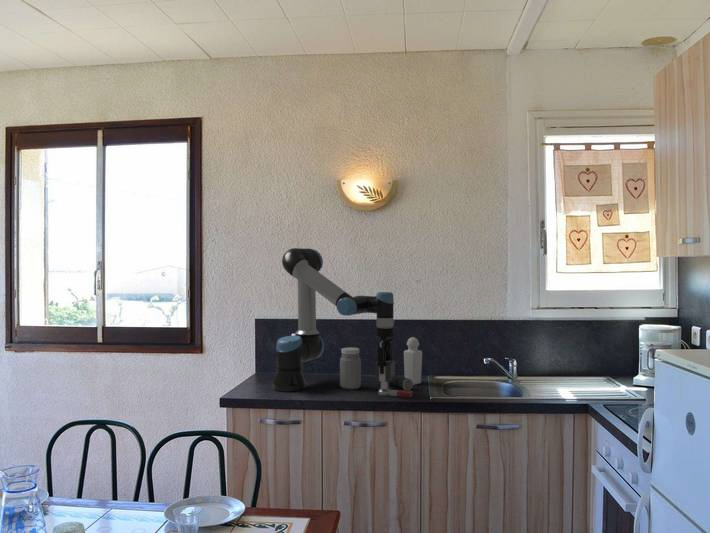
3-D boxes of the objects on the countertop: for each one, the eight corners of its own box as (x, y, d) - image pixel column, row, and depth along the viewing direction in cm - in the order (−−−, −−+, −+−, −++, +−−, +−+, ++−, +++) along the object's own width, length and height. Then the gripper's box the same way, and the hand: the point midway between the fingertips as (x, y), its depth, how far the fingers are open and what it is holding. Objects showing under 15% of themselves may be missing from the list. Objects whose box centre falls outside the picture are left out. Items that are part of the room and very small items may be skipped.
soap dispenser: (412, 380, 265) (412, 336, 265) (422, 383, 260) (422, 337, 260) (403, 382, 260) (403, 337, 260) (413, 385, 256) (413, 338, 255)
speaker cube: (375, 380, 236) (375, 361, 236) (380, 377, 242) (379, 359, 242) (390, 382, 233) (390, 362, 233) (395, 378, 240) (395, 359, 240)
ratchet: (376, 395, 236) (376, 380, 236) (380, 392, 242) (380, 377, 242) (409, 398, 231) (409, 383, 231) (413, 395, 237) (413, 380, 237)
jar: (339, 389, 246) (339, 350, 246) (340, 385, 256) (340, 347, 256) (361, 389, 246) (361, 350, 246) (360, 385, 256) (360, 347, 256)
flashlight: (384, 384, 257) (384, 373, 257) (393, 383, 260) (393, 372, 260) (403, 391, 244) (403, 379, 244) (412, 389, 247) (412, 378, 247)
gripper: (386, 330, 227) (386, 384, 227) (399, 325, 246) (399, 375, 246) (369, 329, 230) (369, 383, 230) (383, 324, 248) (383, 374, 249)
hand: (385, 379), depth 238 cm, fingers closed on speaker cube, 7 cm apart
